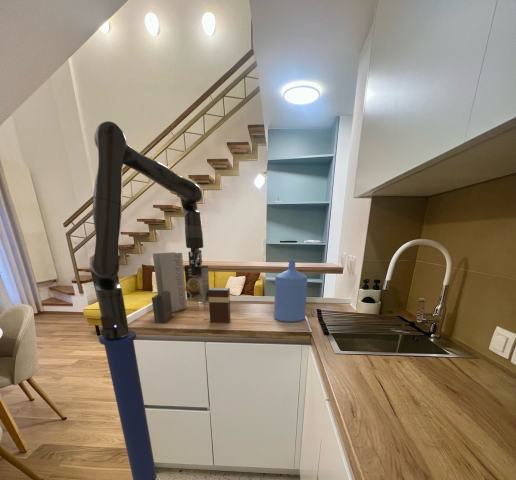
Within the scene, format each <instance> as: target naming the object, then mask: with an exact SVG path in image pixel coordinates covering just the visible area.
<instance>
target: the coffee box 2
mask: <svg viewBox="0 0 516 480" xmlns="http://www.w3.org/2000/svg"><path fill="white" fill-rule="evenodd" d="M208 292H209V300H208V308H209V322H210V323H220V324H221V323H222V324H228V323H230V321H231V292H230V287H209V290H208Z"/></svg>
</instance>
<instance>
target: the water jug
mask: <svg viewBox="0 0 516 480" xmlns="http://www.w3.org/2000/svg"><path fill="white" fill-rule="evenodd" d="M274 277H275V279H274V309H273V317H274V319H275V320H277V321H279V322H284V323H285V322H287V323H297V322H301V321H303V320H304V319H305V318H306V303H307V287H308V276H307V275H306V274H303V273H302V272H300V271H299V270H296V260H288V268H287V270H284V271H283V272H280V273H278V274H276V275H275V276H274Z"/></svg>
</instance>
